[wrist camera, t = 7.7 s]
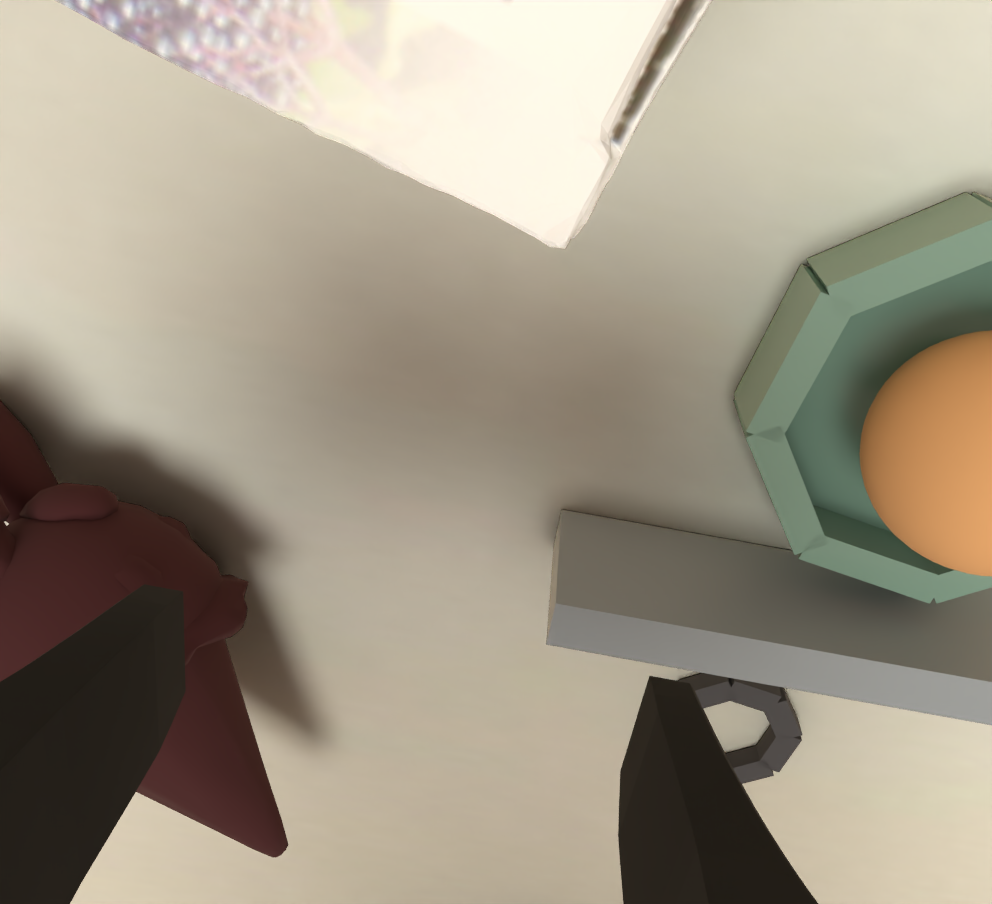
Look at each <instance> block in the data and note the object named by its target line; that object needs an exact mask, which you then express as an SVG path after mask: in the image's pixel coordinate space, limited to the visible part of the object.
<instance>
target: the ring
mask: <svg viewBox="0 0 992 904" xmlns="http://www.w3.org/2000/svg"><path fill="white" fill-rule="evenodd" d="M678 681H680V682H686V683H690V685H691V686H692V687H693V689H694V690H695V692H696V695H697V697H698V699H699V701H700V703H701V705H702V708H706V707H710V706H713V705H717V704H720V703H724V702H727V701H733V702H736V703H739V704H742V705H745V706H748V707H751V708H754V709H757V710H760V711H763V712H765V715H766V717H767V719H768V721H769V723H770V726H769V728H768V729H767V731H766V732H765V734H764V735H763V737H762V738H761V740H760V741H759V743H758V744H757V746H753V747H749V748H745V749H742V750H738V751H734V752H730V753H727V754H726V756H727V758H728V760H729V762H730V764H731V766H732V767H733V769H734V771H735V773H736V775H737V777H738V778H739V780H740V782H741V784H743V783H747V782H751V781H755V780H759V779H762V778H766V777H770V776H774V775H773V771H776V772H780V770H781V769H782V767H783V766H784V765H785V763H786V762H787V760H788V759H789V757H790V756H791V755H792V753H793V752H794V750H795V749H796V748H797V746H798V745H799V743H800V742H801V741H802V740H801V735H802V732H801V728H800V725H799V721H798V718H797V716H796V714H795V712H794V709H793V707H792V705H791V703H790V701H789V698H788V696H787V694H786V692H785V690H784V688H783V687H778V686H772V685H767V684H761V683H756V682H750V681H745V680H739V679H734V678H728V677H723V676H717V675H712V674H706V673H701V674H698V675H695V676H691V677H688V678H685V679H681V680H678Z"/></svg>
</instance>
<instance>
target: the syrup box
mask: <svg viewBox="0 0 992 904" xmlns="http://www.w3.org/2000/svg"><path fill="white" fill-rule="evenodd" d="M55 1H57V2H59V3H61V4H63V5H65V6H67V7H68V8H70V9H72V10H74V11H76V12H78V13H79V14H81V15H83V16H85V17H87V18H89V19H90V20H92V21H94V22H96V23H98V24H99V25H101V26H103V27H105V28H106V29H108V30H110V31H111V32H113V33H115V34H116V35H118V36H120V37H121V38H123V39H125V40H127V41H129V42H131V43H133V44H135V45H137V46H139V47H141V48H143V49H145V50H147V51H149V52H151V53H153V54H155V55H157V56H159V57H161V58H163V59H165V60H167V61H169V62H171V63H173V64H175V65H177V66H179V67H181V68H183V69H185V70H187V71H189V72H191V73H193V74H195V75H197V76H199V77H202V78H204V79H206V80H208V81H210V82H212V83H214V84H216V85H218V86H221V87H223V88H226V89H228V90H230V91H233V92H235V93H238V94H240V95H243V96H245V97H247V98H249V99H251V100H253V101H254V102H256V103H258V104H260V105H262V106H263V107H265V108H267V109H269V110H271V111H272V112H274V113H276V114H278V115H280V116H283V117H285V118H287V119H290V120H292V121H294V122H296V123H299V124H301V125H302V126H304V127H306V128H307V129H309V130H310V131H312V132H313V133H315V134H317V135H319V136H322V137H325V138H327V139H330V140H333V141H336V142H339V143H341V144H344V145H346V146H348V147H350V148H352V149H354V150H355V151H357V152H359V153H361V154H363V155H365V156H367V157H369V158H370V159H372V160H374V161H376V162H377V163H379V164H381V165H383V166H384V167H386V168H388V169H391V170H394V171H396V172H399V173H402V174H405V175H407V176H408V177H410V178H412V179H414V180H416V181H418V182H420V183H421V184H423V185H425V186H428V187H431V188H433V189H436V190H439V191H441V192H444V193H447V194H449V195H452V196H454V197H456V198H458V199H460V200H462V201H464V202H466V203H467V204H469V205H471V206H473V207H475V208H478V209H480V210H483V211H485V212H488V213H490V214H492V215H494V216H496V217H498V218H500V219H502V220H503V221H505V222H507V223H509V224H511V225H513V226H514V227H516V228H518V229H520V230H522V231H524V232H525V233H527V234H529V235H531V236H533V237H535V238H537V239H538V240H540V241H541V242H543V243H544V244H546V245H548V246H549V247H555V248H563V249H566V247H567V245H568V243H569V241H570V239H571V238H575V236H576V235H577V234H578V233H579V231H580V230H581V229H582V228H583V226H584V225H585V224H586V222H587V221H588V219H589V217H590V215H591V213H592V211H593V210H594V208H595V206H596V204H597V202H598V200H599V198H600V196H601V194H602V192H603V190H604V188H605V186H606V184H607V183H608V181H609V180H610V178H611V177H612V175H613V173H614V171H615V169H616V167H617V165H618V163H619V161H620V159H621V157H622V155H623V153H624V151H625V149H626V147H627V145H628V143H629V141H630V139H631V137H632V135H633V134H634V132H635V130H636V129H637V127H638V125H639V123H640V122H641V120H642V118H643V116H644V115H645V113H646V111H647V109H648V108H649V106H650V104H651V102H652V101H653V99H654V97H655V95H656V94H657V92H658V90H659V89H660V87H661V85H662V84H663V82H664V80H665V79H666V77H667V75H668V73H669V72H670V70H671V68H672V67H673V65H674V63H675V62H676V60H677V58H678V57H679V55H680V53H681V52H682V50H683V48H684V47H685V45H686V43H687V42H688V40H689V38H690V37H691V35H692V33H693V32H694V30H695V28H696V27H697V25H698V23H699V22H700V20H701V18H702V17H703V15H704V13H705V12H706V10H707V8H708V7H709V5H710V3H711V2H712V0H55Z"/></svg>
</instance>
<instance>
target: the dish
mask: <svg viewBox="0 0 992 904" xmlns="http://www.w3.org/2000/svg"><path fill="white" fill-rule="evenodd" d="M807 262H808V265H809V267H808V266H806V265H803V264H801V265H800V267H799V269H798V271H797V273H796V275H795V277H794V279H793V280H792V282H791V284H790V286H789V288H788V290H787V292H786V294H785V296H784V298H783V300H782V302H781V304H780V306H779V308H778V310H777V311H776V313H775V315H774V317H773V319H772V321H771V323H770V325H769V327H768V329H767V331H766V333H765V335H764V337H763V339H762V340H761V342H760V344H759V346H758V348H757V350H756V352H755V354H754V356H753V358H752V360H751V362H750V364H749V366H748V368H747V370H746V371H745V373H744V375H743V377H742V379H741V381H740V383H739V385H738V387H737V389H736V391H735V393H734V397H735V399H734V403H735V406H736V409H737V413H738V416H739V419H740V422H741V425H742V428H743V431H744V434H745V438H746V440H747V442H748V445H749V447H750V450H751V452H752V454H753V457H754V459H755V462H756V464H757V467H758V469H759V471H760V474H761V476H762V479H763V481H764V483H765V486H766V488H767V491H768V493H769V495H770V498H771V500H772V503H773V505H774V508H775V510H776V512H777V515H778V517H779V520H780V522H781V524H782V527H783V529H784V532H785V534H786V536H787V539H788V541H789V544H790V546H791V548H792V551H793V553H794V555H796V554H797V556H798V559H800V560H803V561H806V562H809V563H812V564H815V565H818V566H821V567H824V568H827V569H829V570H832V571H835V572H838V573H841V574H844V575H847V576H850V577H853V578H856V579H859V580H862V581H865V582H867V583H870V584H873V585H876V586H879V587H882V588H885V589H888V590H891V591H894V592H897V593H900V594H903V595H905V596H908V597H911V598H914V599H917V600H920V601H923V602H926V603H929V604H930V603H931V601H932V600H933V599H934V601H935V602H936V604H937V603H940V602H944V601H947V600H951V599H954V598H957V597H961V596H964V595H967V594H971V593H974V592H978V591H981V590H984V589H988V588H991V587H992V576H979V575H973V574H967V573H964V572H960V571H957V570H953V569H950V568H947V567H944V566H942V565H939V564H937V563H935V562H932V561H931V560H929V559H927V558H925V557H923V556H922V555H920V554H918V553H917V552H915V551H913V550H912V549H911V548H910V547H908V546H907V545H906V544H905V543H904V542H902V541H901V540H900V539H899V538H898V537H896V536H895V535H894V534H893V533H892V531H891V530H890V529H889V528H888V527H887V526H886V525H885V523H884V522H883V521H882V519H881V518H880V517H879V515H878V513H877V512H876V510H875V509H874V507H873V505H872V503H871V501H870V498H869V496H868V494H867V491H866V489H865V486H864V482H863V477H862V473H861V467H860V454H859V453H860V441H861V433H862V429H863V425H864V421H865V418H866V416H867V413H868V410H869V408H870V406H871V404H872V402H873V401H874V399H875V397H876V395H877V393H878V392H879V390H880V389H881V388H882V386H883V385H884V383H885V382H886V381H887V380H888V379H889V378H890V376H891V375H892V374H893V373H894V372H895V371H896V370H897V369H898V368H899V367H901V366H902V365H903V364H904V363H905V362H906V361H908V360H909V359H911V358H912V357H913V356H915V355H916V354H918V353H919V352H921V351H923V350H925V349H926V348H928V347H930V346H932V345H934V344H937V343H939V342H941V341H944V340H947V339H950V338H953V337H956V336H960V335H963V334H968V333H973V332H978V331H989V330H992V199H991V198H988V197H986V196H983V195H981V194H978V193H975V192H973V193H972V195H970V194H968V193H966V192H965V193H963V194H960V195H958V196H956V197H953V198H951V199H949V200H946V201H944V202H941V203H939V204H937V205H934V206H932V207H929V208H927V209H925V210H922V211H920V212H917V213H915V214H913V215H910V216H908V217H906V218H903V219H901V220H898V221H896V222H894V223H891V224H889V225H886V226H884V227H882V228H879V229H877V230H874V231H872V232H870V233H867V234H865V235H863V236H860V237H858V238H855V239H853V240H851V241H848V242H846V243H843V244H841V245H839V246H836V247H834V248H831V249H829V250H827V251H824V252H822V253H820V254H817V255H815V256H812V257H810V258H808V259H807Z"/></svg>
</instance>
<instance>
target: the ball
mask: <svg viewBox="0 0 992 904" xmlns="http://www.w3.org/2000/svg"><path fill="white" fill-rule="evenodd" d="M859 454H860V467H861V473H862V477H863V482H864V486H865V489H866V491H867V494H868V496H869V498H870V501H871V503H872V505H873V507H874V509H875V510H876V512H877V513H878V515H879V517H880V518H881V519H882V521H883V522H884V523H885V525H886V526H887V527H888V528H889V529H890V530H891V531H892V533H893V534H894V535H895V536H896V537H898V538H899V539H900V540H901V541H902V542H904V543H905V544H906V545H907V546H908V547H910V548H911V549H912V550H913V551H915V552H917V553H918V554H920V555H922V556H923V557H925V558H927V559H929V560H931V561H932V562H935V563H937V564H939V565H942V566H944V567H947V568H950V569H953V570H957V571H960V572H964V573H967V574H973V575H979V576H992V330H989V331H978V332H973V333H968V334H963V335H960V336H956V337H953V338H950V339H947V340H944V341H941V342H939V343H937V344H934V345H932V346H930V347H928V348H926V349H925V350H923V351H921V352H919V353H918V354H916V355H915V356H913V357H912V358H911V359H909V360H908V361H906V362H905V363H904V364H903V365H902V366H901V367H899V368H898V369H897V370H896V371H895V372H894V373H893V374H892V375H891V376H890V378H889V379H888V380H887V381H886V382H885V383H884V385H883V386H882V388H881V389H880V390H879V392H878V393H877V395H876V397H875V399H874V401H873V402H872V404H871V406H870V408H869V410H868V413H867V416H866V418H865V421H864V425H863V429H862V433H861V441H860V453H859Z"/></svg>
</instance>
